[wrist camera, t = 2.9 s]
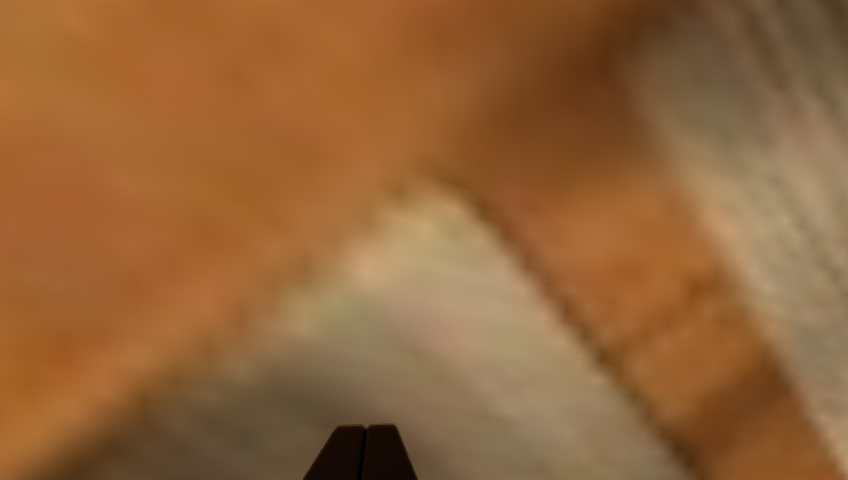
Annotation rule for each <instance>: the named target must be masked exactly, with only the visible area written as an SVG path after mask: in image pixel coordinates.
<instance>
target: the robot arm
mask: <svg viewBox="0 0 848 480" xmlns="http://www.w3.org/2000/svg"><path fill="white" fill-rule="evenodd" d="M303 480H418V478H417V475H416V473H415V470H414V468H413V465H412V463H411V460H410V458H409V456H408V453H407V451H406V448H405V446H404V443H403V441H402V438H401V436H400V433H399V431H398V428H397V427H396V425H394V424H391V423H389V424H370V425H369V426H368V427H367V428H366V427H365V426H364V425H362V424H352V425H339V426H338V427H336V428H335V430H334V431H333V433H332V434H331V436H330V437H329V439H328V440H327V442H326V444H325V445H324V447H323V448H322V450H321V451H320V453H319V455H318V456H317V458H316V459H315V461H314V462H313V464H312V465H311V467H310V469H309V470H308V472H307V473H306V475H305V476H304V478H303Z"/></svg>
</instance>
